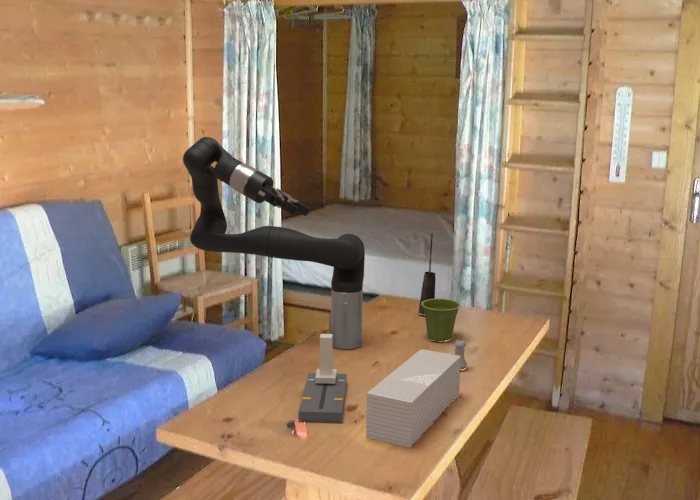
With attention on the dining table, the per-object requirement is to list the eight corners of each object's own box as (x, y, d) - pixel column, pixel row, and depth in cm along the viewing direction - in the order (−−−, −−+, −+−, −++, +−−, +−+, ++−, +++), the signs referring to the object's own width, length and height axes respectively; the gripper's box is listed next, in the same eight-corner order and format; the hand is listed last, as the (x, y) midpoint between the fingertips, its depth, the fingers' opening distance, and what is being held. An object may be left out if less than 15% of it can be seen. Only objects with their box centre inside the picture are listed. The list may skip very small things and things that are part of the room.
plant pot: (412, 339, 236) (413, 303, 233) (435, 330, 244) (436, 296, 242) (443, 348, 228) (445, 312, 225) (466, 339, 236) (468, 303, 234)
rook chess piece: (468, 367, 213) (469, 339, 211) (465, 372, 209) (466, 344, 207) (452, 365, 214) (453, 337, 213) (449, 370, 210) (450, 342, 209)
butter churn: (433, 321, 253) (436, 238, 247) (407, 316, 258) (409, 234, 252) (444, 314, 261) (447, 233, 255) (419, 310, 266) (421, 230, 260)
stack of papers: (419, 388, 199) (420, 349, 196) (459, 396, 194) (460, 355, 192) (366, 438, 171) (366, 392, 168) (410, 448, 166) (411, 402, 164)
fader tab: (317, 374, 199) (317, 331, 196) (336, 374, 199) (336, 332, 196) (315, 383, 193) (315, 339, 190) (335, 383, 193) (335, 339, 190)
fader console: (308, 381, 202) (308, 371, 201) (346, 382, 201) (346, 372, 201) (298, 421, 178) (298, 410, 178) (341, 422, 178) (341, 411, 177)
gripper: (256, 197, 208) (305, 225, 204) (232, 193, 195) (284, 224, 190) (268, 172, 207) (318, 200, 203) (245, 167, 194) (298, 197, 189)
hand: (302, 211), depth 197 cm, fingers open, 8 cm apart
